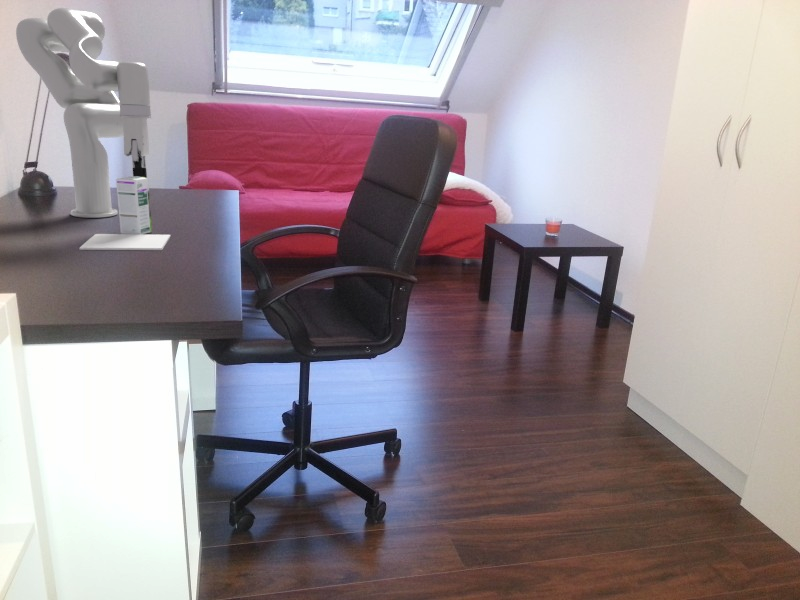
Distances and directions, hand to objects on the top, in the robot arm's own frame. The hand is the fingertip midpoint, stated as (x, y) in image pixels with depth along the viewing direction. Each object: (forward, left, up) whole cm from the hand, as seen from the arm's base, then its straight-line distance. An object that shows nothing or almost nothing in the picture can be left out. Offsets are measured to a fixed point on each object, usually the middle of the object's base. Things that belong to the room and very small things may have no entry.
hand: (140, 182), depth 174 cm
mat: (+21, 0, -12) cm, 24 cm away
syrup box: (+9, 0, -12) cm, 15 cm away
